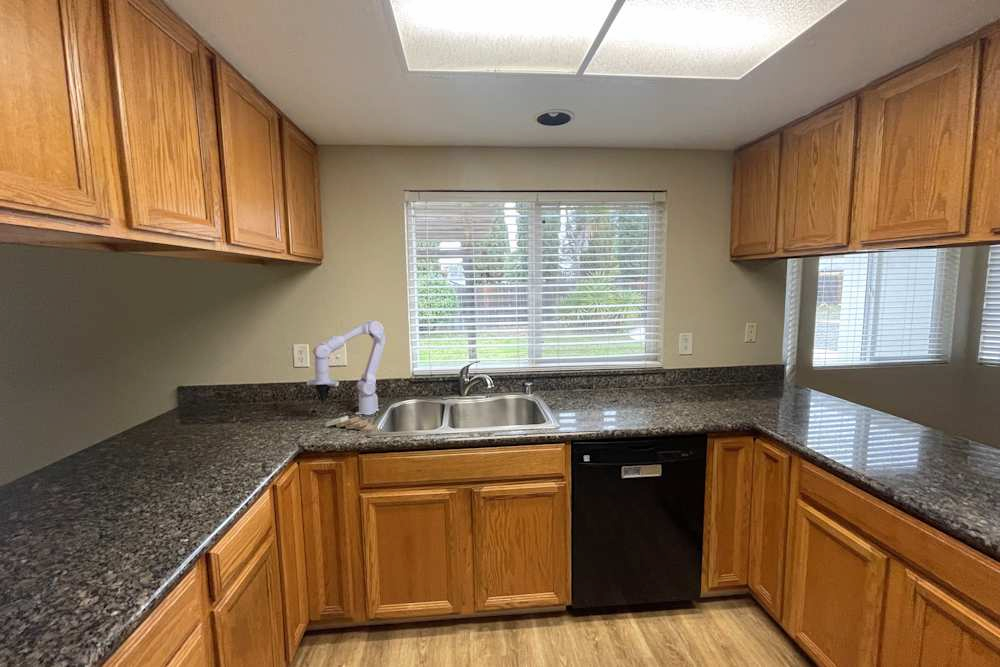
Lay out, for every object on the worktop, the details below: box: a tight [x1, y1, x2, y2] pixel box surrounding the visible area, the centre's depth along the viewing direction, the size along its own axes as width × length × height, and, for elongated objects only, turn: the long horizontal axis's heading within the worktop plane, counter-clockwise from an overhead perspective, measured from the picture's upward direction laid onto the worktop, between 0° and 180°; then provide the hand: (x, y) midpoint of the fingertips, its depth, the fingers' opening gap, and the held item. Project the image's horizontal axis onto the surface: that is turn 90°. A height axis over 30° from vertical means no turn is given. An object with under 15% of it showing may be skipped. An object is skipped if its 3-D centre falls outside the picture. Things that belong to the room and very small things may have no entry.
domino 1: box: [325, 415, 350, 428], centre depth 179 cm, size 2×5×8 cm
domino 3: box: [344, 419, 369, 430], centre depth 176 cm, size 2×5×8 cm
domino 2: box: [335, 416, 360, 428], centre depth 178 cm, size 2×5×8 cm
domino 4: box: [353, 423, 379, 432], centre depth 176 cm, size 2×5×8 cm
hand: (323, 401), depth 188 cm, fingers closed
